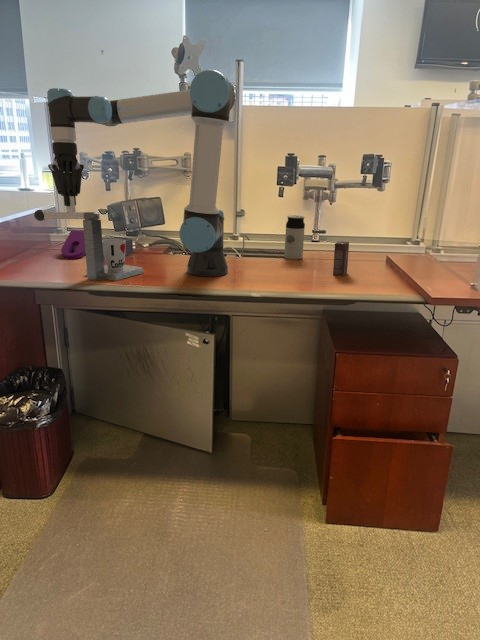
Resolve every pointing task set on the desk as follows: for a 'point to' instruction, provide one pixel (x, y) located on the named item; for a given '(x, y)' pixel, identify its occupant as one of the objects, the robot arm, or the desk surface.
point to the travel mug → (294, 237)
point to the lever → (65, 215)
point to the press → (101, 256)
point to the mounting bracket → (74, 245)
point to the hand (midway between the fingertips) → (71, 215)
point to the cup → (114, 253)
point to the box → (341, 258)
